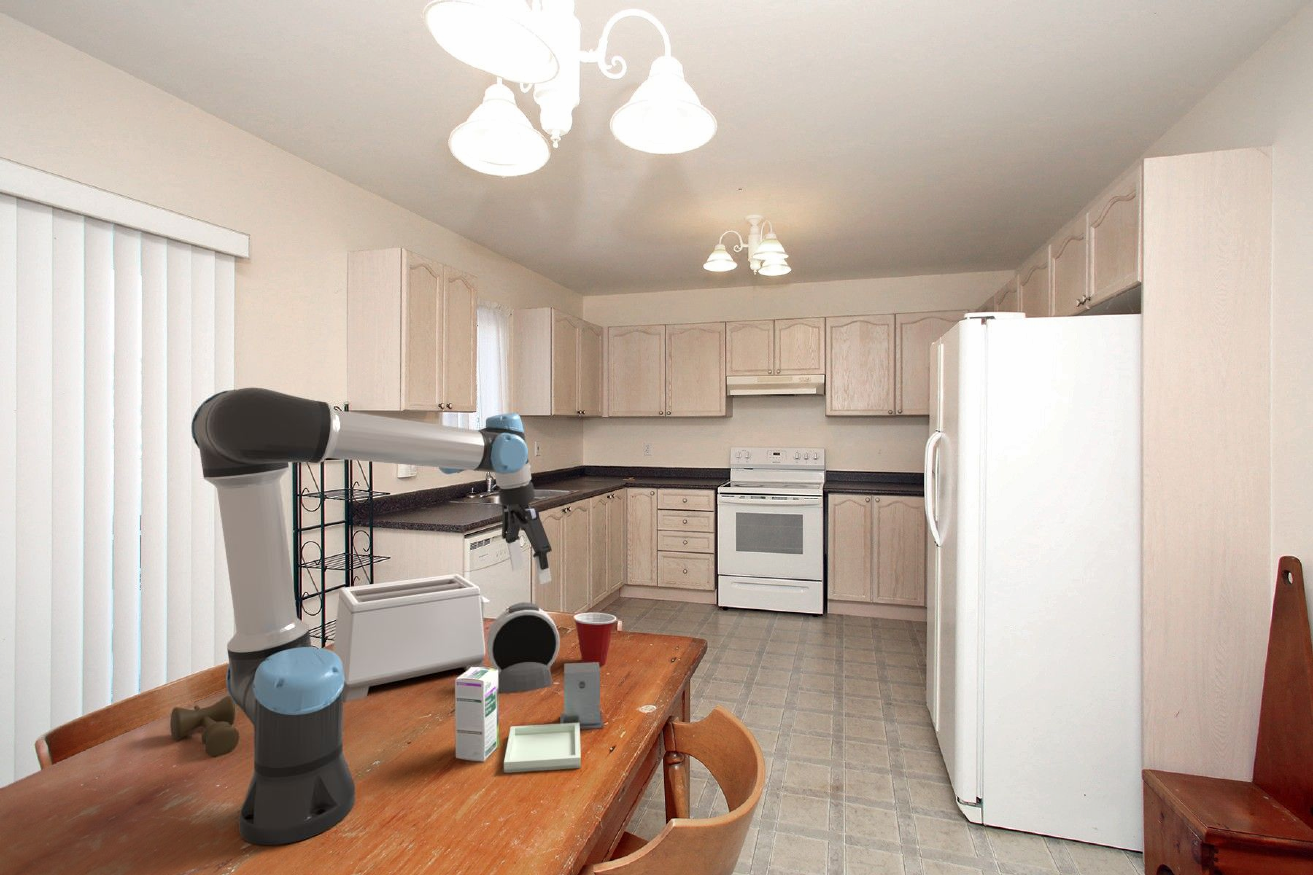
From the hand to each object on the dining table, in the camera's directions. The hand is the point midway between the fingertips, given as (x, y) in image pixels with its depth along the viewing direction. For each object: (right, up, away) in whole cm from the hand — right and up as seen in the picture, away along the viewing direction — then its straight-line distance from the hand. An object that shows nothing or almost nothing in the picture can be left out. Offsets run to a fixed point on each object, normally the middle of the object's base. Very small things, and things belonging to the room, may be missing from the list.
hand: (531, 575), depth 139 cm
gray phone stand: (+13, -26, -15) cm, 33 cm away
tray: (+8, -26, -26) cm, 38 cm away
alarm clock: (-3, -26, +5) cm, 27 cm away
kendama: (-56, -26, -22) cm, 66 cm away
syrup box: (-4, -26, -27) cm, 38 cm away
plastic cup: (+13, -26, +17) cm, 34 cm away
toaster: (-30, -26, +11) cm, 41 cm away
